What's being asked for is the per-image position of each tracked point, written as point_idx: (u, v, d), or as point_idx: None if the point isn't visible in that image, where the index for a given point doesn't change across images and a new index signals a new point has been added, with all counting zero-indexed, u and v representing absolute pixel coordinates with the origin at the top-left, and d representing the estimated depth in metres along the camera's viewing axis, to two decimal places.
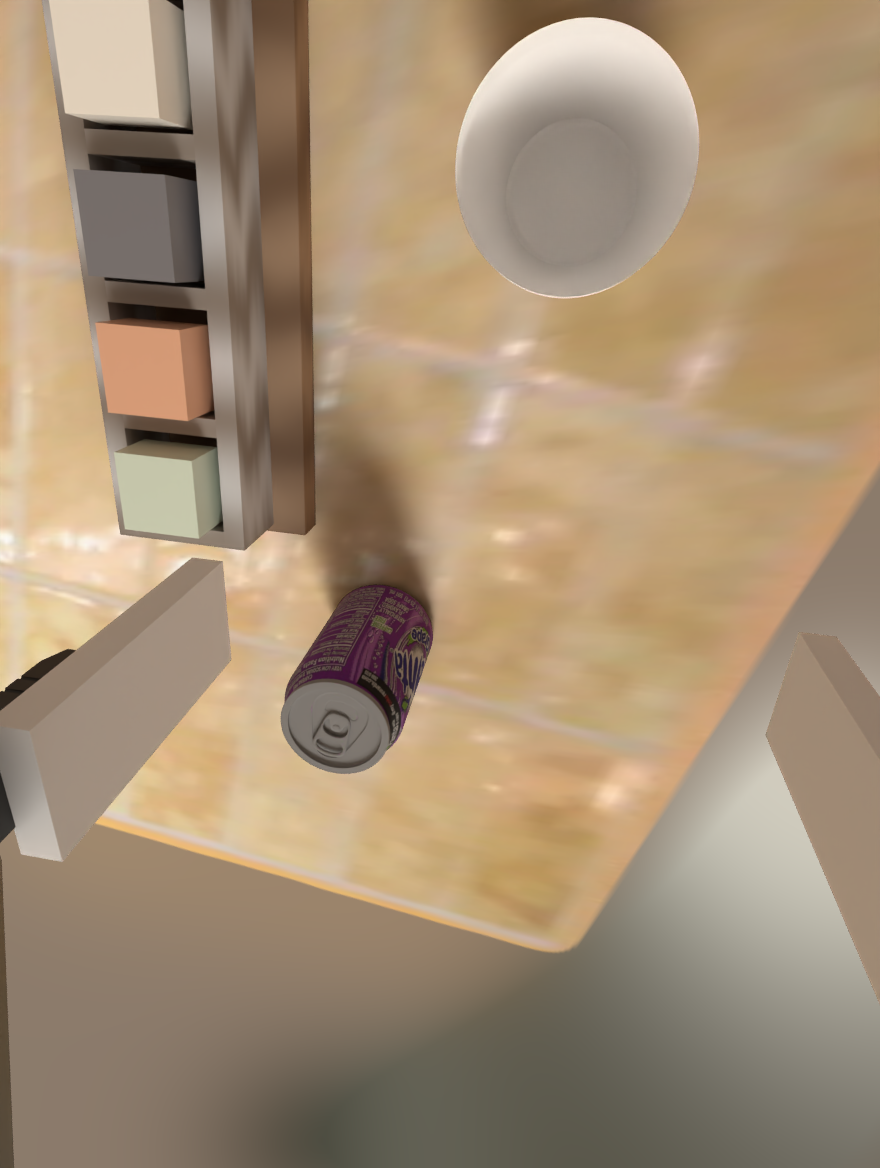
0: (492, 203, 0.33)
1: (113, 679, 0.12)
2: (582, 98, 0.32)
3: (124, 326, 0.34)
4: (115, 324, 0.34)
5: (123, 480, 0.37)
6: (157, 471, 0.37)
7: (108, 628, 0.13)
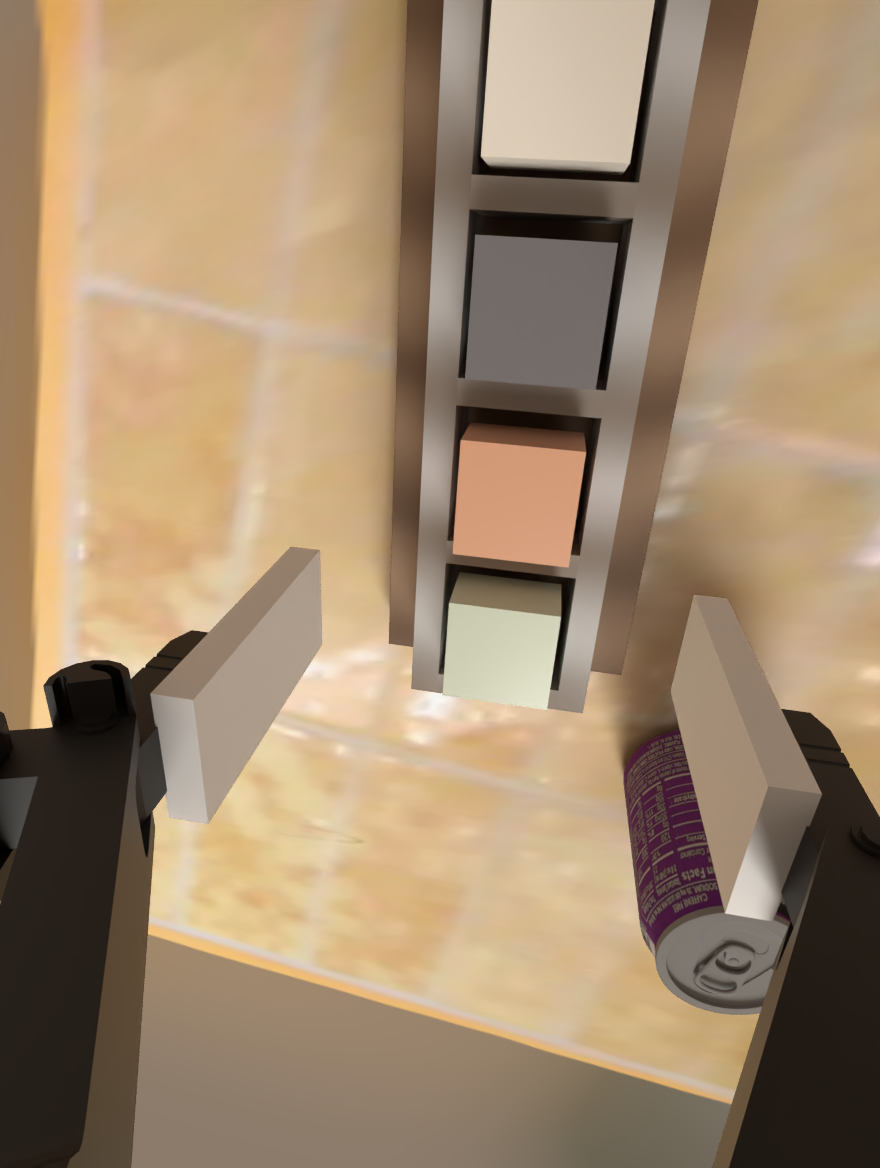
0: None
1: (246, 656, 0.13)
2: None
3: (503, 445, 0.24)
4: (489, 442, 0.24)
5: (454, 637, 0.28)
6: (506, 627, 0.27)
7: (233, 610, 0.14)
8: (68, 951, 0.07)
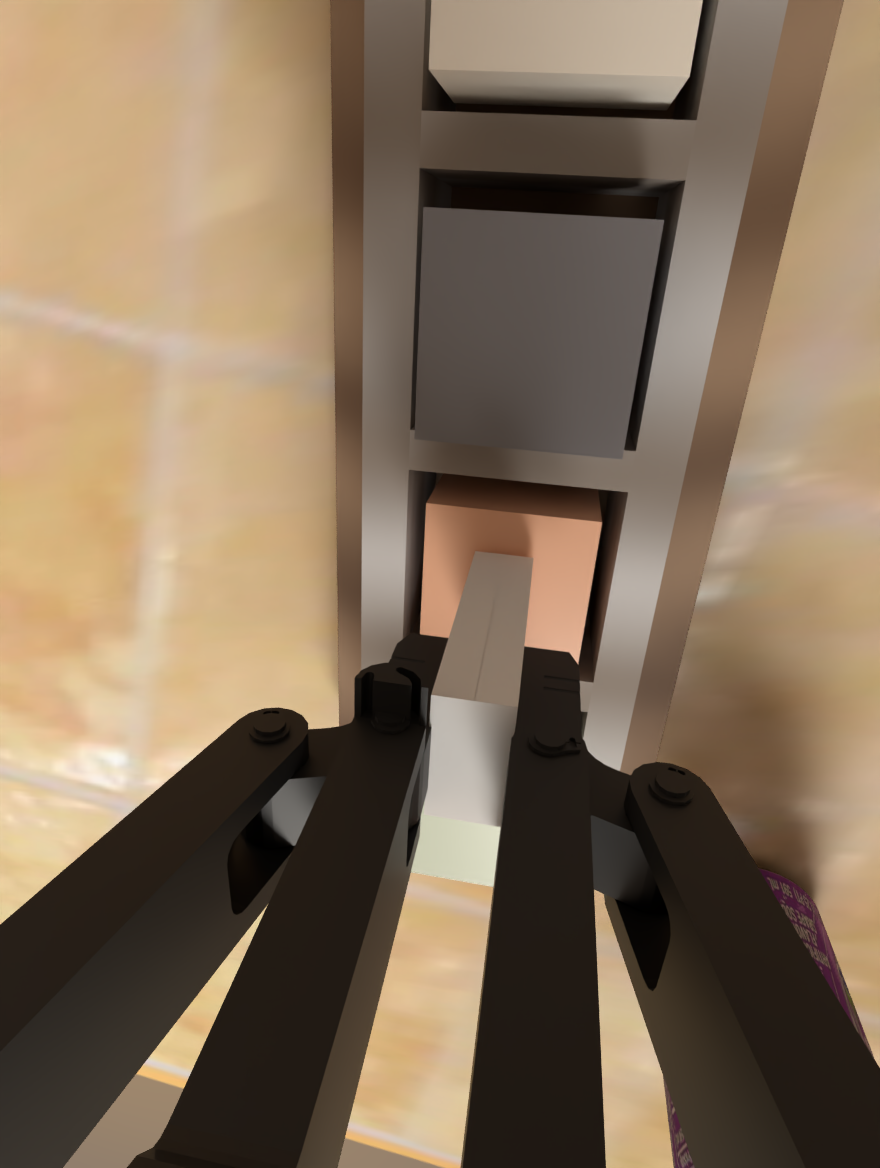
0: None
1: None
2: None
3: (486, 512, 0.17)
4: (466, 506, 0.17)
5: None
6: None
7: (457, 614, 0.15)
8: (324, 952, 0.07)
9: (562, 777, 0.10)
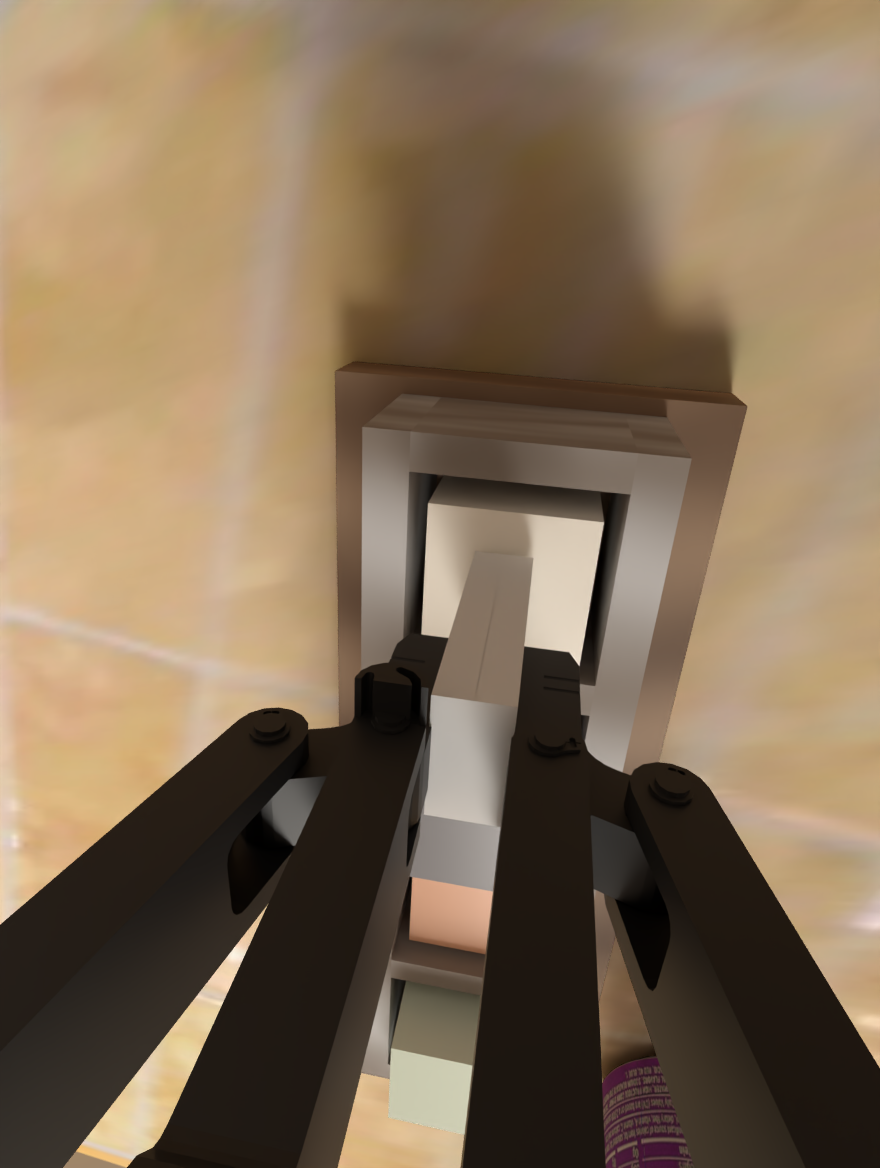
0: None
1: None
2: None
3: None
4: None
5: (398, 1075, 0.25)
6: (456, 1075, 0.24)
7: (457, 614, 0.15)
8: (324, 952, 0.07)
9: (562, 777, 0.10)
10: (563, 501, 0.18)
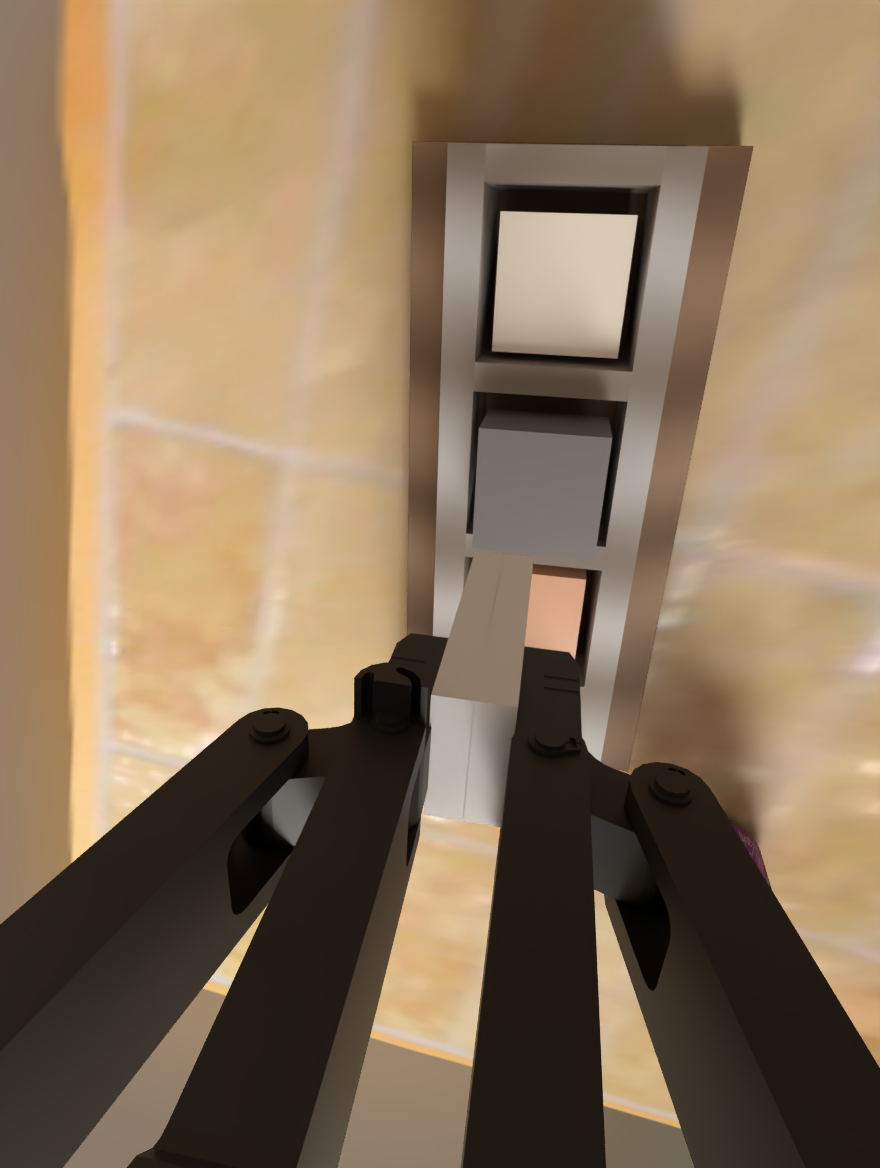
0: None
1: None
2: None
3: None
4: None
5: None
6: None
7: (456, 613, 0.15)
8: (324, 952, 0.07)
9: (562, 777, 0.10)
10: None
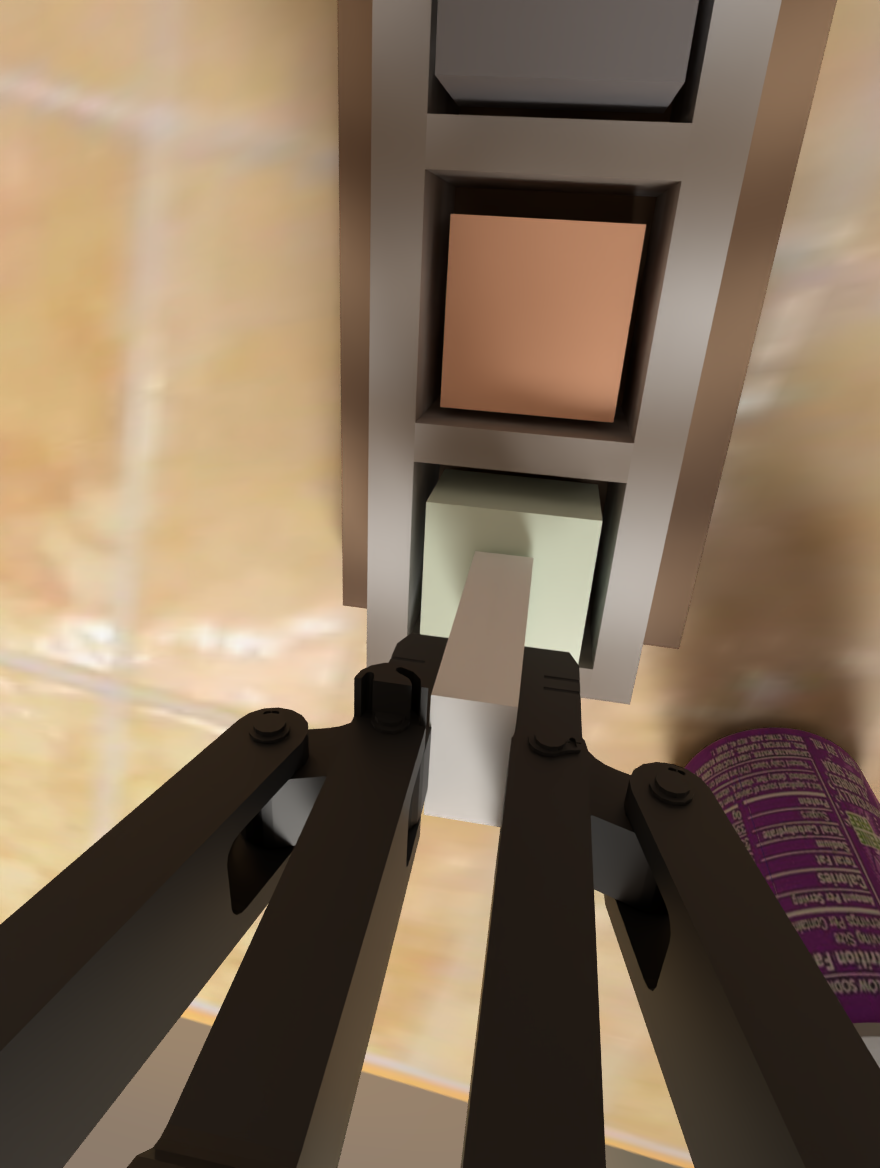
0: None
1: None
2: None
3: (517, 220, 0.16)
4: (494, 217, 0.16)
5: (436, 558, 0.18)
6: (516, 540, 0.17)
7: (457, 614, 0.15)
8: (324, 952, 0.07)
9: (562, 777, 0.10)
10: None
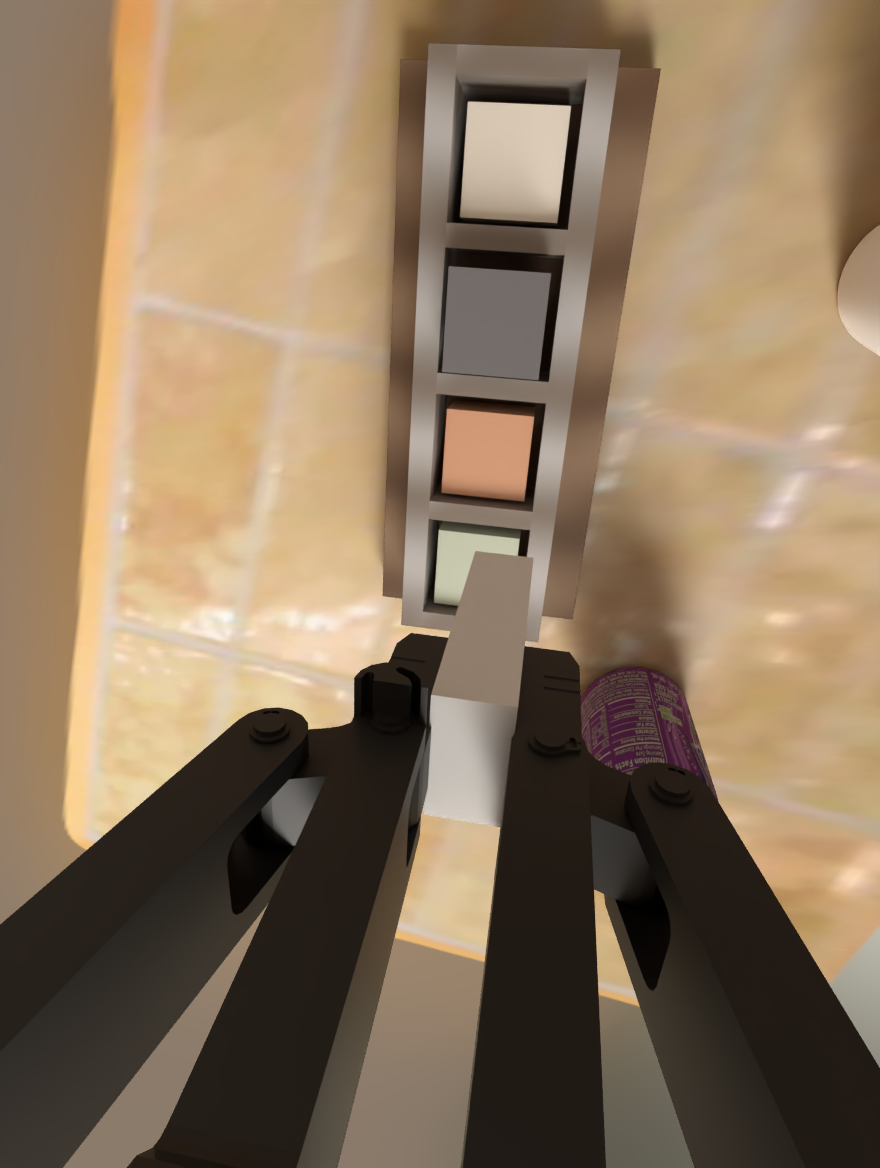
0: (853, 295, 0.32)
1: None
2: None
3: (477, 412, 0.35)
4: (466, 410, 0.35)
5: (443, 556, 0.38)
6: (480, 548, 0.37)
7: (456, 614, 0.15)
8: (324, 953, 0.07)
9: (562, 777, 0.10)
10: None
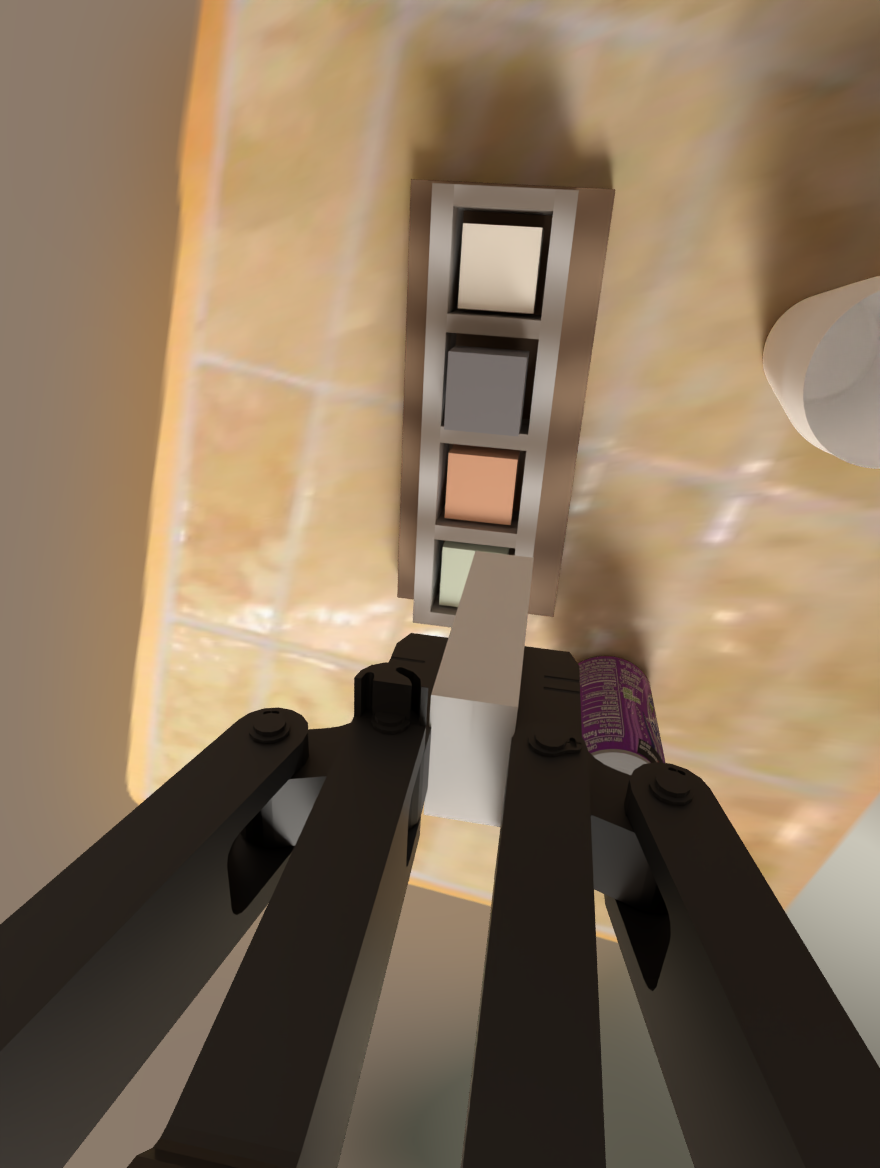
0: (768, 365, 0.41)
1: None
2: None
3: (472, 456, 0.44)
4: (464, 454, 0.44)
5: (446, 567, 0.47)
6: None
7: (456, 614, 0.15)
8: (323, 952, 0.07)
9: (562, 777, 0.10)
10: None
